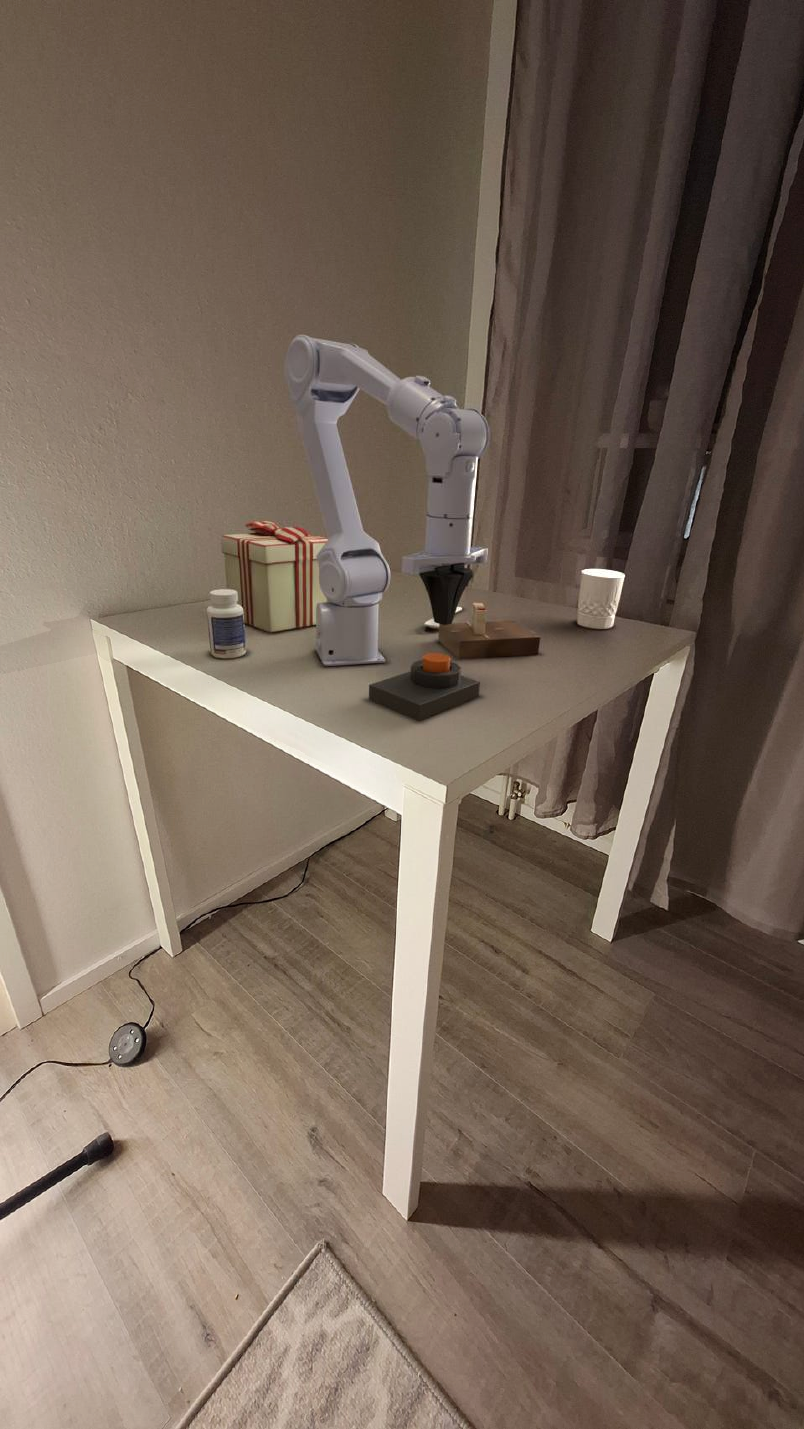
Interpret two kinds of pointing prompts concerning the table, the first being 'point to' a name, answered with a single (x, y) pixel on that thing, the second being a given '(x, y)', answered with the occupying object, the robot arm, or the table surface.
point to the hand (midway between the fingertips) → (442, 622)
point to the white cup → (599, 597)
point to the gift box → (274, 575)
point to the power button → (436, 662)
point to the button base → (424, 691)
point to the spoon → (434, 625)
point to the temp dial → (478, 619)
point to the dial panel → (489, 640)
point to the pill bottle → (226, 624)
